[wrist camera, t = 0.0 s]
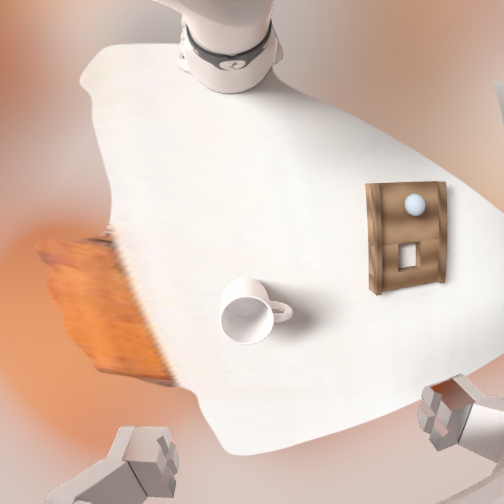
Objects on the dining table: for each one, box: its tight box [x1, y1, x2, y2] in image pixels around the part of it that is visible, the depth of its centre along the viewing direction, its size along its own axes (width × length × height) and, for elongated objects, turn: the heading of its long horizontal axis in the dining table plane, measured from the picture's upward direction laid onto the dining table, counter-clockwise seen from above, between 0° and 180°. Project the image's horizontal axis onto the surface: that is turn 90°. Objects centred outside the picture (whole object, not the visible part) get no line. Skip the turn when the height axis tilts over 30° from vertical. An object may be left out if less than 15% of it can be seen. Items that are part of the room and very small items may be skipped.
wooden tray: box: [365, 181, 447, 295], centre depth 55 cm, size 20×16×4 cm
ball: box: [405, 194, 426, 216], centre depth 52 cm, size 4×4×4 cm
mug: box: [220, 278, 293, 345], centre depth 53 cm, size 12×8×10 cm
